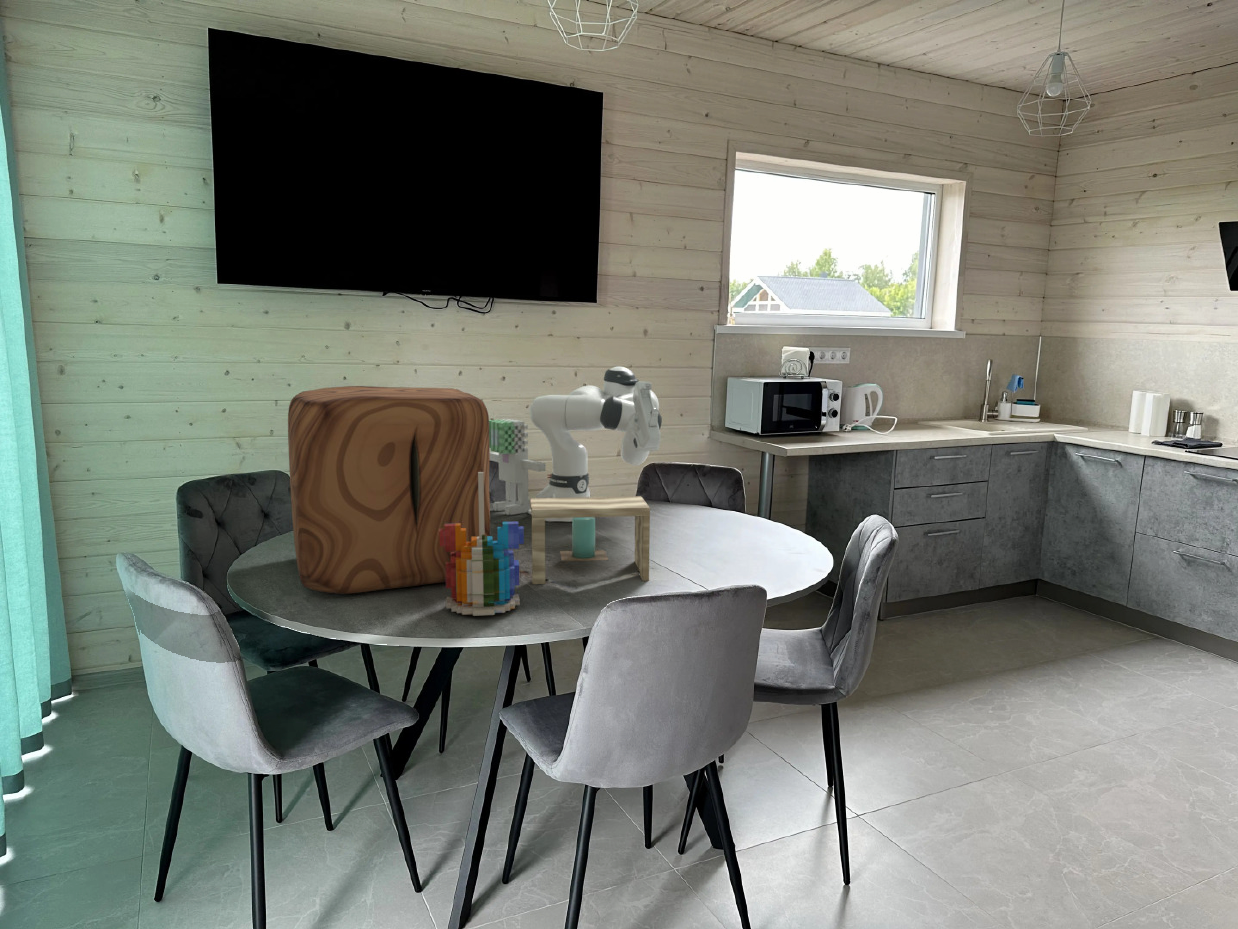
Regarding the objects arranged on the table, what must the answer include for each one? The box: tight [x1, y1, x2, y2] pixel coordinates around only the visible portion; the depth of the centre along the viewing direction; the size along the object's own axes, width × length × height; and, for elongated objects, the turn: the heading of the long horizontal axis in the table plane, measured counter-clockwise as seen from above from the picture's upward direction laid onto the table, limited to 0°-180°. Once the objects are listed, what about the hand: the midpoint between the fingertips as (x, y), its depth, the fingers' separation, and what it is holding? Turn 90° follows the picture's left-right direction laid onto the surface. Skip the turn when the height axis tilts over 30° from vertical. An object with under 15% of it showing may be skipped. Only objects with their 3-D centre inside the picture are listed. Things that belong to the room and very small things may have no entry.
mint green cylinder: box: [571, 517, 596, 558], centre depth 230 cm, size 6×6×10 cm
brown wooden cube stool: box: [287, 385, 491, 595], centre depth 216 cm, size 45×45×45 cm
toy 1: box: [439, 472, 525, 617], centre depth 188 cm, size 18×16×30 cm
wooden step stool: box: [529, 495, 651, 585], centre depth 215 cm, size 14×28×18 cm, turn 97°
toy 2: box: [489, 418, 547, 516], centre depth 285 cm, size 30×10×30 cm, turn 39°
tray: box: [559, 549, 609, 562], centre depth 231 cm, size 10×12×1 cm
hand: (651, 397), depth 242 cm, fingers open, 8 cm apart
